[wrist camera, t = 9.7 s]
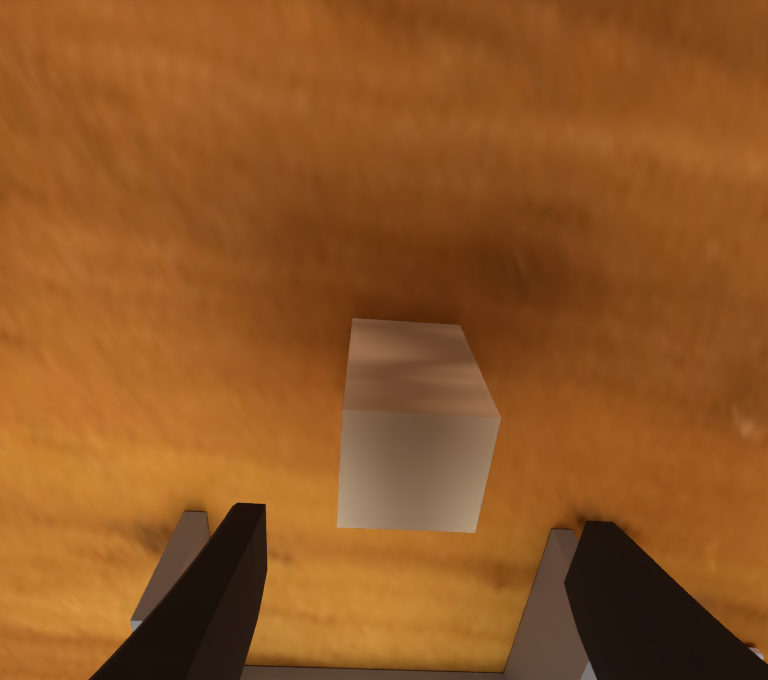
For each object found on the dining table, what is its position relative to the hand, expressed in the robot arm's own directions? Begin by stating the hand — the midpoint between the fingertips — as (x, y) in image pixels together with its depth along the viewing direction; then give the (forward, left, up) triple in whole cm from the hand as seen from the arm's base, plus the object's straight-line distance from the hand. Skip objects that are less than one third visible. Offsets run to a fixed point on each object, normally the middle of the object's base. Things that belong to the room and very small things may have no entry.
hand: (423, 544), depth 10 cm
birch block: (0, 0, -8) cm, 8 cm away
